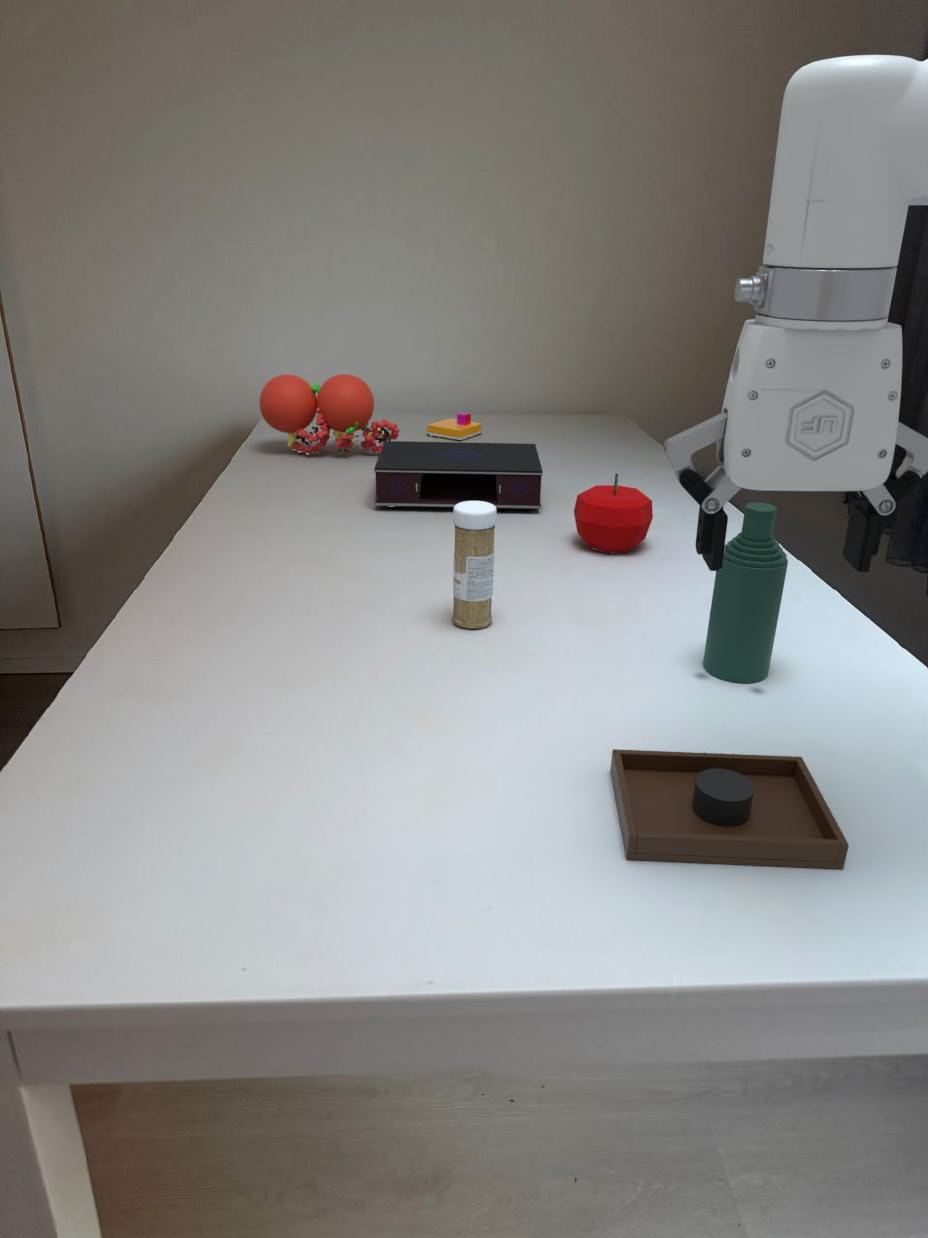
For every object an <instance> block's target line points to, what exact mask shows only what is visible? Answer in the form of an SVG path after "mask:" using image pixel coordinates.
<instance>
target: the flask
mask: <svg viewBox="0 0 928 1238" xmlns="http://www.w3.org/2000/svg"><path fill="white" fill-rule="evenodd" d="M743 507H744V513H743V519H742V525H741V526H742V527H741V532H739V533H737V535H736V536H734V537H733V538H731V539H730V540H729V541H728V542H727V543H725V547H724V555H723V563H722V569H719V571H715V575H714V582H713V590H712V598H711V605H710V612H709V619H708V626H707V632H706V640H705V645H704V654H703V660H702V666H703V669H704V670H705V671H706V672H707V673H708V674H710V675H711V676H713V677H715V678H717V679H720V680H723V681H725V682H726V681H727V682H731V683H737V684H752V683H758V682H761V681H764V680H765V679H766V678H767V677H768V675H769V673H770V666H771V661H772V654H773V650H774V649H773V648H774V643H775V638H776V633H777V626H778V621H779V615H780V610H781V605H782V598H783V593H784V588H785V581H786V577H787V576H786V575H787V572H788V571H787V570H788V565H789V560H788V558H787V557H788V556H787V554H786V552H785V551H784V550H783V548H782V546H780V544H779V543H780V542H778V541H777V540H776V537H774V536H773V534H774V529H775V521H776V515H777V514H778V509H777V506H775V505H773V504H770V503H766V502H748V503H746V504H745V505H744V506H743Z"/></svg>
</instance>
